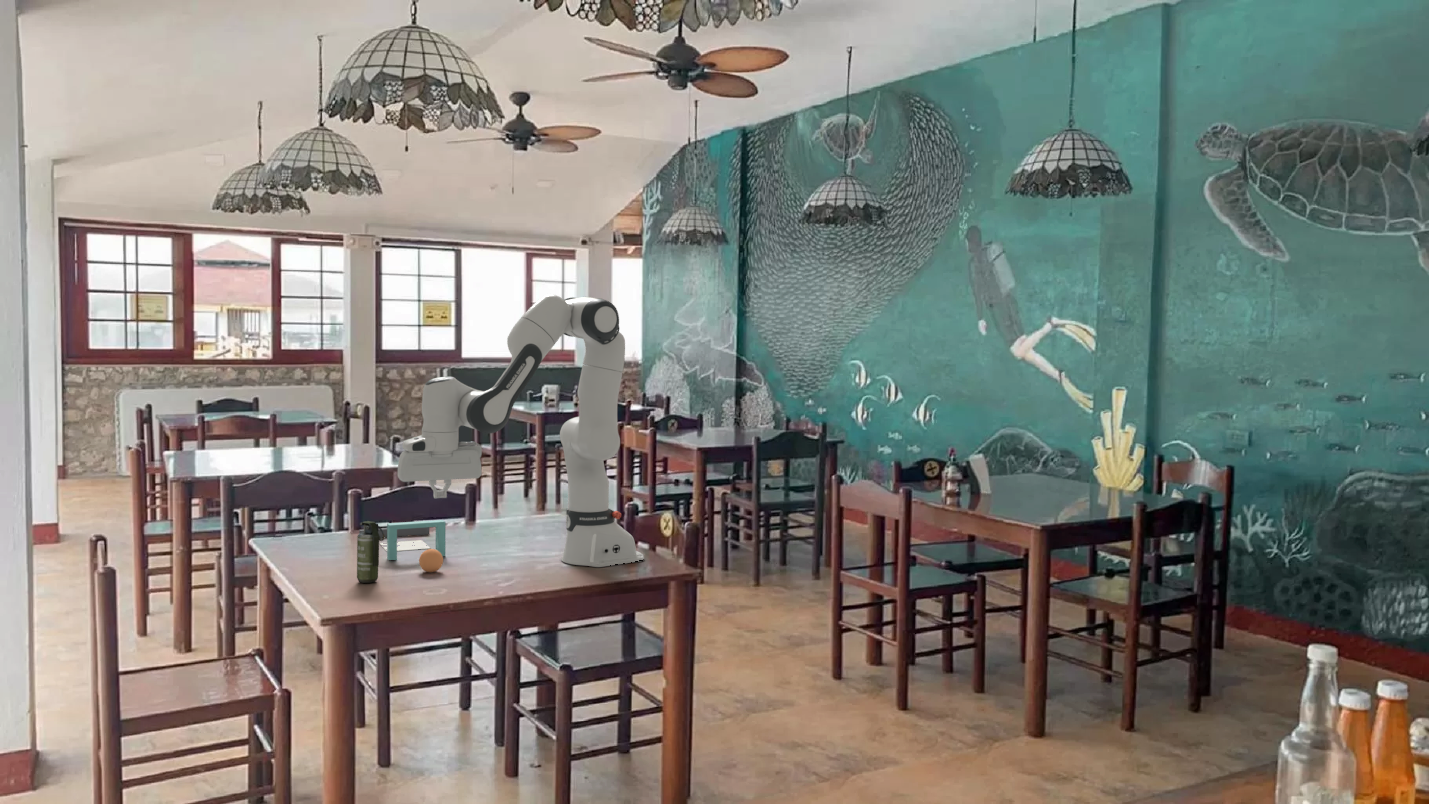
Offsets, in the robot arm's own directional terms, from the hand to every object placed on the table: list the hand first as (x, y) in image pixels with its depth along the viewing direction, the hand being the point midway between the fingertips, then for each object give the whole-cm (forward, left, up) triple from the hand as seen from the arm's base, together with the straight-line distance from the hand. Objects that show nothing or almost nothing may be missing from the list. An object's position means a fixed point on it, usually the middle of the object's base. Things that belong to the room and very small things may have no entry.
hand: (440, 497), depth 271 cm
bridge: (0, -28, -21) cm, 35 cm away
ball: (0, -10, -18) cm, 21 cm away
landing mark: (0, -44, -21) cm, 49 cm away
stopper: (0, -59, -21) cm, 63 cm away
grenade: (+16, -5, -21) cm, 27 cm away
